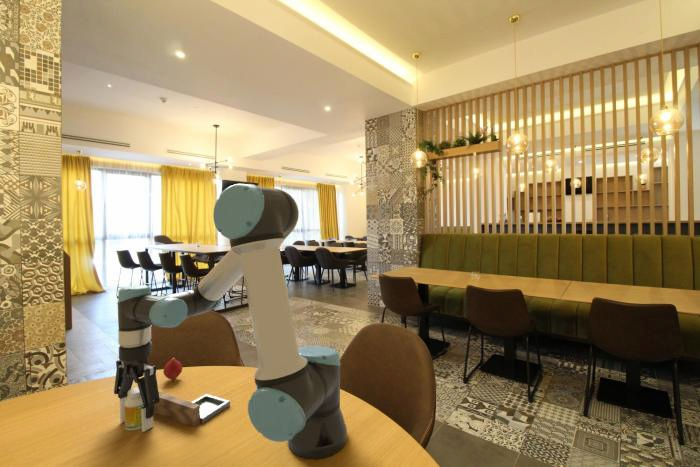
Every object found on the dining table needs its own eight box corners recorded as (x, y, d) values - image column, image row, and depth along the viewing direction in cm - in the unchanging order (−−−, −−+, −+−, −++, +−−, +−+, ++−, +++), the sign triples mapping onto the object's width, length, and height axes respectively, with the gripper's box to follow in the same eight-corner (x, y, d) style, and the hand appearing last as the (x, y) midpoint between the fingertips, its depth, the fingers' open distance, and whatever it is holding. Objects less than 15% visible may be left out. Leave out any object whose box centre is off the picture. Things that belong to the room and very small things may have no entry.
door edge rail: (201, 421, 91) (201, 396, 91) (192, 428, 88) (191, 402, 88) (150, 403, 101) (150, 381, 100) (140, 408, 98) (139, 385, 98)
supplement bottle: (136, 432, 87) (136, 396, 86) (119, 429, 88) (119, 394, 87) (153, 420, 92) (152, 386, 92) (136, 418, 93) (136, 384, 93)
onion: (159, 383, 114) (159, 360, 114) (171, 375, 119) (171, 354, 119) (174, 384, 113) (174, 361, 113) (185, 376, 118) (185, 355, 118)
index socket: (230, 405, 99) (229, 400, 99) (202, 423, 90) (202, 418, 90) (206, 398, 104) (206, 393, 104) (177, 415, 94) (177, 409, 94)
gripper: (174, 344, 88) (175, 426, 89) (125, 333, 97) (126, 408, 98) (147, 354, 81) (148, 443, 82) (97, 341, 90) (98, 421, 91)
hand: (136, 424), depth 90 cm, fingers open, 9 cm apart
